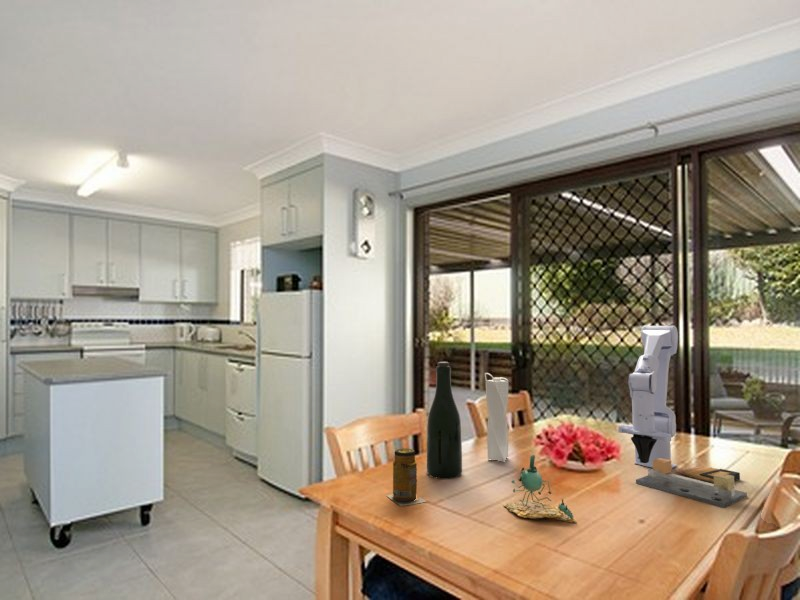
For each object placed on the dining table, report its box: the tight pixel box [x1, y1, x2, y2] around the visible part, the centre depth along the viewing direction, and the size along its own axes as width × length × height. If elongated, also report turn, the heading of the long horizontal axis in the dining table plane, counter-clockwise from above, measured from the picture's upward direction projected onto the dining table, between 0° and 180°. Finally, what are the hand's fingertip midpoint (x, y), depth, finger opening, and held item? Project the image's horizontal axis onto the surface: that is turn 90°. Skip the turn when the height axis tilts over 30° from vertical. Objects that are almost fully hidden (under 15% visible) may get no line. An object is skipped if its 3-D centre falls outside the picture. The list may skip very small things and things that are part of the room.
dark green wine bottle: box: [426, 361, 463, 479], centre depth 146 cm, size 10×10×33 cm
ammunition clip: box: [677, 465, 741, 484], centre depth 141 cm, size 11×2×12 cm
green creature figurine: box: [502, 454, 577, 523], centre depth 115 cm, size 10×18×15 cm, turn 43°
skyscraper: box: [484, 372, 509, 462], centre depth 161 cm, size 8×8×28 cm
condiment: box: [385, 447, 427, 507], centre depth 125 cm, size 7×8×12 cm
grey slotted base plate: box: [635, 468, 748, 508], centre depth 131 cm, size 22×13×6 cm, turn 35°
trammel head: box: [651, 458, 673, 479], centre depth 136 cm, size 3×7×4 cm, turn 124°
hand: (644, 462), depth 141 cm, fingers closed
